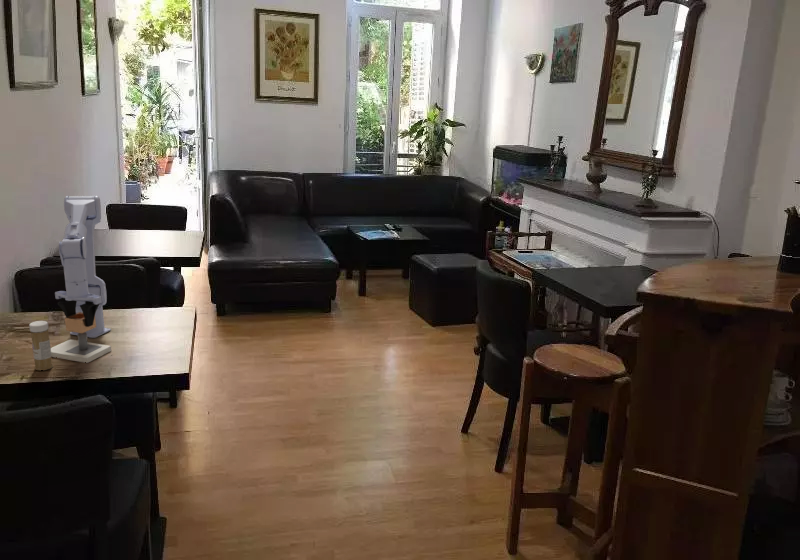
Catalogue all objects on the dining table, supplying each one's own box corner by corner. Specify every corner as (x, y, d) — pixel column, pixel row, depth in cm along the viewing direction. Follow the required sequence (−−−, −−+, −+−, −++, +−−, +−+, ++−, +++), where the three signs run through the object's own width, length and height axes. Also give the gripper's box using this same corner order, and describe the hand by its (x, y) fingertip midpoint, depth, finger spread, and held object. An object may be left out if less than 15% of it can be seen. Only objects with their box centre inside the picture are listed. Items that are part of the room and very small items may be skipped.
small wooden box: (66, 330, 191) (64, 317, 190) (80, 324, 196) (79, 312, 195) (82, 333, 189) (80, 320, 188) (96, 327, 195) (94, 314, 193)
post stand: (45, 355, 193) (42, 334, 191) (70, 343, 202) (68, 324, 200) (87, 362, 189) (85, 341, 187) (111, 350, 198) (109, 330, 196)
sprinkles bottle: (32, 368, 184) (26, 322, 181) (49, 363, 188) (43, 319, 184) (39, 372, 182) (33, 327, 178) (56, 367, 185) (50, 322, 181)
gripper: (44, 280, 187) (50, 325, 191) (86, 286, 183) (91, 332, 187) (63, 274, 193) (68, 318, 197) (104, 279, 189) (109, 324, 193)
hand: (81, 324), depth 192 cm, fingers closed on small wooden box, 6 cm apart
